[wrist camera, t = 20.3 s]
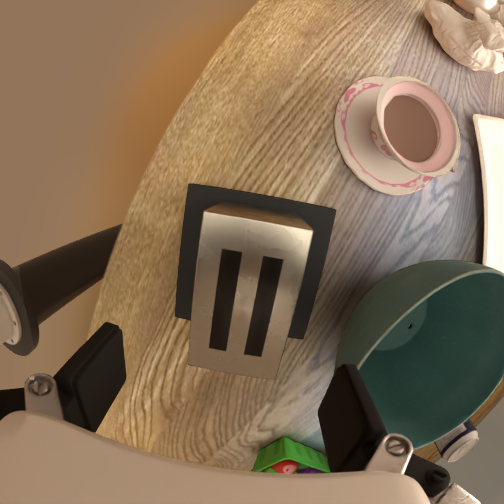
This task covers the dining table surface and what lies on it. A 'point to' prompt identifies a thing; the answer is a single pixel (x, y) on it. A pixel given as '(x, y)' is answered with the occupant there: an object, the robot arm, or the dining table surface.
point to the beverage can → (458, 442)
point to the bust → (468, 36)
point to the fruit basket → (290, 459)
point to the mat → (210, 196)
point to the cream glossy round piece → (480, 5)
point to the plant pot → (429, 345)
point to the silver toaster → (246, 288)
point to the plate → (492, 187)
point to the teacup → (396, 133)
